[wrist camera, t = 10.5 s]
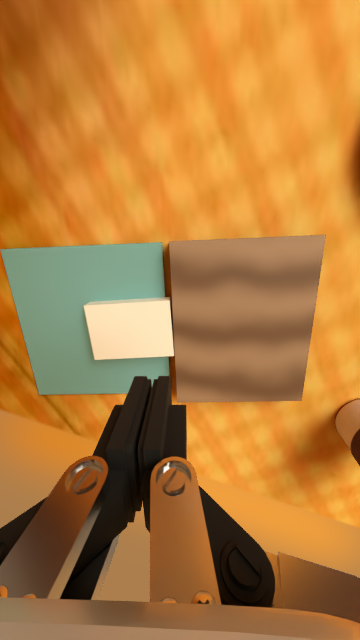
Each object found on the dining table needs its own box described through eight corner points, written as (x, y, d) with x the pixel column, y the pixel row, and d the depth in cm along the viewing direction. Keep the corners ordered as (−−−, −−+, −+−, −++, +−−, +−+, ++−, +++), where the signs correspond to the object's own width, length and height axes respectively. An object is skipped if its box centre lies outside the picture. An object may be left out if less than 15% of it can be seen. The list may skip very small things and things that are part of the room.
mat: (2, 249, 27) (0, 249, 26) (162, 242, 26) (161, 242, 26) (41, 392, 33) (39, 394, 32) (171, 391, 32) (170, 392, 32)
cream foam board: (90, 301, 28) (83, 305, 26) (170, 296, 27) (169, 300, 25) (100, 352, 30) (94, 359, 28) (174, 349, 29) (174, 356, 28)
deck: (170, 242, 26) (169, 241, 23) (312, 236, 25) (325, 234, 23) (177, 390, 32) (177, 402, 29) (292, 389, 31) (301, 400, 29)
